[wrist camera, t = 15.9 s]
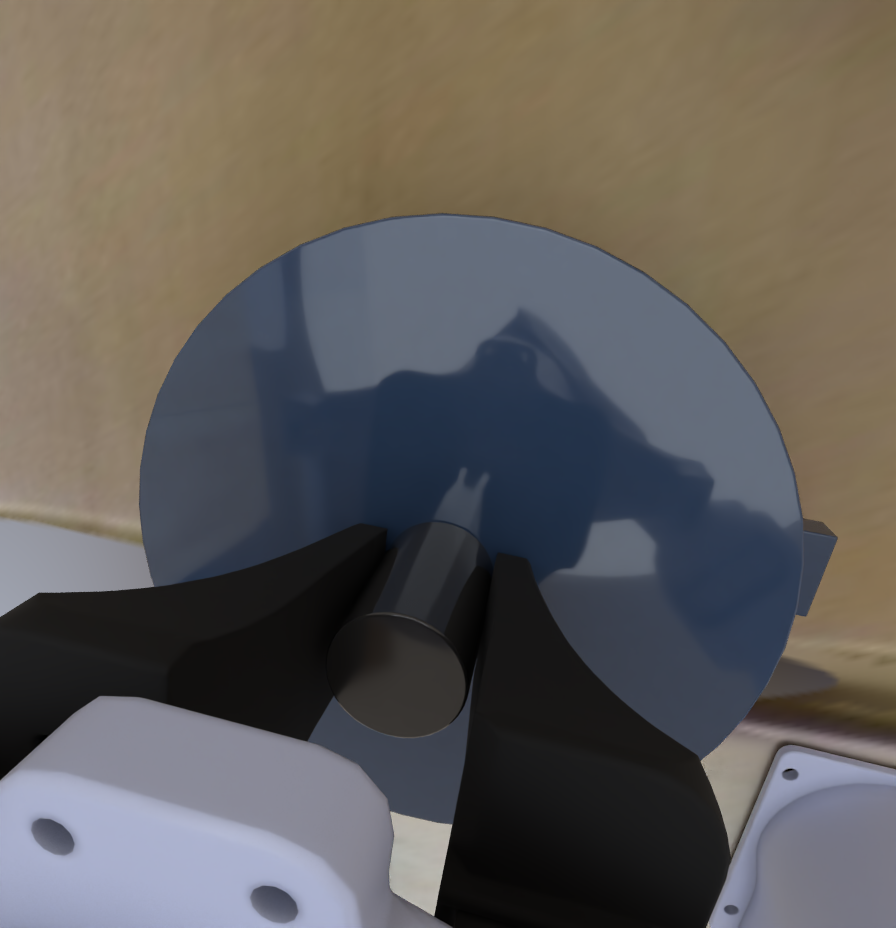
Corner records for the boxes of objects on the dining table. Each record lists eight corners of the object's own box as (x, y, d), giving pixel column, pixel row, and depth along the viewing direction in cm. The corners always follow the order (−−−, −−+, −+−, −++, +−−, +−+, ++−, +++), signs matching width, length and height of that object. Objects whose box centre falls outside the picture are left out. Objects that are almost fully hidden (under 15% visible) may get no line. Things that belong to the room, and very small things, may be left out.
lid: (680, 853, 16) (725, 1085, 11) (171, 716, 17) (38, 868, 13) (898, 277, 11) (1128, 286, 6) (161, 172, 13) (-57, 122, 8)
